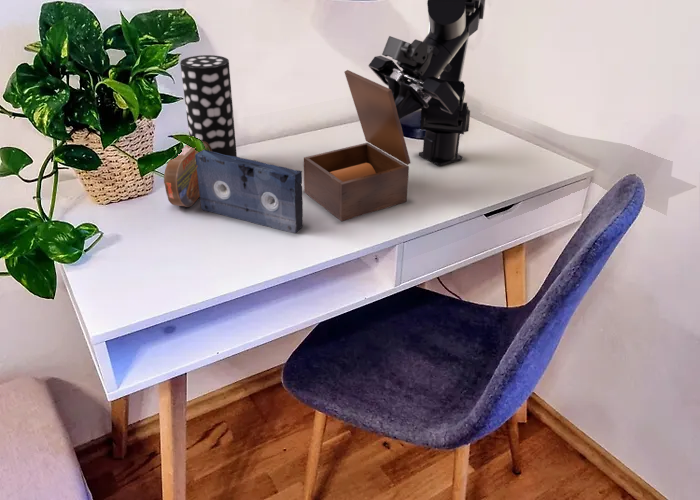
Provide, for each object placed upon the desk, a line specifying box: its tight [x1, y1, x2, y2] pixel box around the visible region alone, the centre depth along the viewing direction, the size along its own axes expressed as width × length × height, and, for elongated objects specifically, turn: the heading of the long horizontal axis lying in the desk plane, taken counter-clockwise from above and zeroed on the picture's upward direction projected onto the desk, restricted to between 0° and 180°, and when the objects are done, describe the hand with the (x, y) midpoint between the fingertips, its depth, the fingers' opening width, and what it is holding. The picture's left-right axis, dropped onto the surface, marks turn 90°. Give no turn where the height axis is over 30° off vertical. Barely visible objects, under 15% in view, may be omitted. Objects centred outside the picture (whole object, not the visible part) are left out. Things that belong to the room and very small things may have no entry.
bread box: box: [303, 142, 410, 222], centre depth 108 cm, size 13×12×7 cm
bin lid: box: [344, 69, 412, 166], centre depth 104 cm, size 14×12×1 cm
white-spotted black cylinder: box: [179, 54, 238, 157], centre depth 114 cm, size 8×8×20 cm
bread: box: [329, 163, 376, 182], centre depth 108 cm, size 8×5×5 cm
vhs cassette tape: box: [195, 149, 304, 234], centre depth 100 cm, size 18×3×10 cm, turn 64°
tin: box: [163, 141, 212, 208], centre depth 107 cm, size 15×3×8 cm, turn 168°
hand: (382, 124), depth 106 cm, fingers closed
